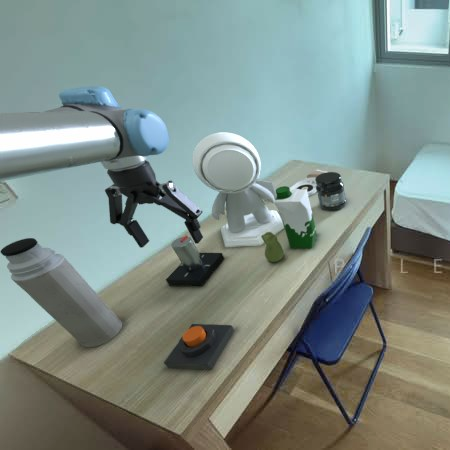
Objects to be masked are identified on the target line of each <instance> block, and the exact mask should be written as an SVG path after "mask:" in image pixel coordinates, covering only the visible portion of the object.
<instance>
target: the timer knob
mask: <svg viewBox="0 0 450 450" xmlns="http://www.w3.org/2000/svg"><path fill="white" fill-rule="evenodd" d="M170 245H171V248H172V249H173V251H174V253H175V255H177V258H178V259H179V261H180V264H181V263H182V264H183V266H184V268H185V269H186V270H187V271H194V270H197V269H199V268H200V267H202V266H203V264H204V261H203V259H202V257H201V255H200V253H199V252H200V251H199V250H198V248H197V246H196V244H195V242H194V240H193V238H192V236H188V235H184V236H181V237H178V238H176V239H174V240H173V241H172V242H171V244H170Z"/></svg>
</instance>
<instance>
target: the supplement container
mask: <svg viewBox="0 0 450 450" xmlns="http://www.w3.org/2000/svg"><path fill="white" fill-rule="evenodd" d="M315 181H316V184H317V185H316V190H317V192H316V194H317V199H318V204H319V207H320V208H321V209H323V210H325V211H336V210H337V211H338V210H340V209H341V208H343V207H344V206H345V205H346V203H347V199H346V192H345V187H344V186H345V184H344V181H342V175H341V174H340V173H339V172H336V171H326V173H322V174H320V175H318V176H317V177H316V179H315Z"/></svg>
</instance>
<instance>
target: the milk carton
mask: <svg viewBox="0 0 450 450" xmlns="http://www.w3.org/2000/svg"><path fill="white" fill-rule="evenodd" d="M275 189H276V194H277V197H276V199H275V201H274V203H273V204H274V205H275V206H276V208H277V210H278V213H279V216H280V218H281V219H282V222H283V225H284V231H285V234H286V238H287V242H288V244H289V245H288V246H289V248H290V249H312V248H313V246H314V244H315V241H316V238H317V236H318V234H317V228H316V223H315V219H314V214H313V211H312V206H311V203H310V196H308V192H307V189H290V187H289V186H286V185H285V186H284V185H283V186H279V187H277V188H275Z"/></svg>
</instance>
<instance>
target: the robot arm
mask: <svg viewBox="0 0 450 450" xmlns="http://www.w3.org/2000/svg"><path fill="white" fill-rule="evenodd" d="M58 97H59V99H60V101H61V106H60V107H56V108H52V109H49V110H45V111H34V112H31V111H30V112H29V111H28V112H25V111H24V112H0V183H1V182H6V181H10V180H11V181H12V180H15V179H21V178H25V177H30V176H35V175H36V176H37V175H41V174H47V173H52V172H56V171H61V170H66V169H70V168H76V167H81V166H86V165H92V164H97V163H100V164H101V165H102V167H103V168H104V169H106V170H107V172H106V173H107V175H108V177H109V179H110V180H111V182H112V184H111V185H110V186H108V187H107V188H105V189H104V192H105V194H106V196H107V199H108V208H109V211H108V212H109V222H110V224H112V225H117V224H118V225H120V226H122V227H123V228H124V229H125V231H126V233H127V234H128V235H129V236H131V237H132V238H133V239H134V241H135V242H136V244H137V245H138V247H139V248H145V246H146V245H147V244H148V243H149V242H150V239H149V237H148V236H147V234H146V232H145V231H144V230H143V228H142V227H141V225H140V223H139V222H138V220H137V219H134V216H135V212H136V210H137V207H138V205H139V206H140V205H145V204H146V205H147V204H148V205H152V204H155V205H157V206H161V207H163V208H165V209H167V210H168V211H170V212H172V213H173V214H175V215H177V216H178V217H180V218H182V219H183V220H184V222H183V223H184V225H185V227H186V229H187V231H188V233H189V235H190V237H191V239H192V240H193V242H194V244H195V245H198V244H199V243H201V241H202V240H203V238H204V236H203V234H202V232H201V230H200V229H201V228H202V227H201V224H200V222H199V220H198V218H199V217H201V215H202V214H203V210H202V209H201V208H200V207H199V206H198V205H197V204H196V203H194V202H193V201H192V200H191V199H190V198H189V197H188V196H186V195H185V194H184V193H183V192H182V191H181V190H180V189H179V188H178V187H177V185H176V184H175V182H174V181H173V180H167V182H165V183H160V182H159V181H158V180H157V177H156V173H155V171H154V169H153V167H152V165H151V163H150V162H149V161H148V160H147V157H149V156H159V155H161V154H163V153H164V152H165V151H166V149H167V148H168V147H169V144H170V135H169V132H168V129H167V125H166V124H165V122H164V120H162V118H161V117H160V116H159V115H158V114H156V113H155V112H153V111H151V110H149V109H135V108H126V109H122V107H121V106H120V105H119V103H118V102H117V100H116V98H115V97H114V95H113V94H112V92H111V91H110V90H109V88H107V87H105V86H101V85H100V86H99V85H92V86H91V85H89V86H81V87H73V88H69V89H64V90H63V91H60V92H59V94H58ZM123 196H124V197H126V200H125V203H124V205H125V207H124V209H123ZM160 197H161V198H160Z"/></svg>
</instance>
